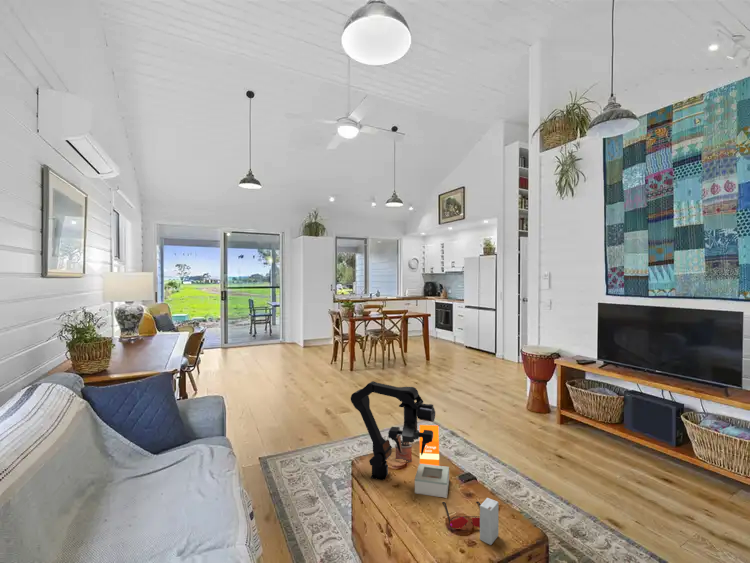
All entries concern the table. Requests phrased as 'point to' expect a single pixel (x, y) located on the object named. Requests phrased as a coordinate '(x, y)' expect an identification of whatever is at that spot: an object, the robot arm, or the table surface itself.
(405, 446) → the ornate red flask
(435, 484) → the slot box
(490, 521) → the skincare box
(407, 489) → the table surface
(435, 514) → the table surface
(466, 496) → the table surface
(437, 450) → the orange juice
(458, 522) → the glasses
